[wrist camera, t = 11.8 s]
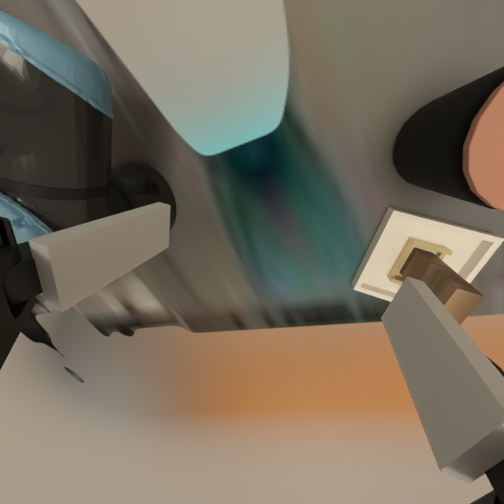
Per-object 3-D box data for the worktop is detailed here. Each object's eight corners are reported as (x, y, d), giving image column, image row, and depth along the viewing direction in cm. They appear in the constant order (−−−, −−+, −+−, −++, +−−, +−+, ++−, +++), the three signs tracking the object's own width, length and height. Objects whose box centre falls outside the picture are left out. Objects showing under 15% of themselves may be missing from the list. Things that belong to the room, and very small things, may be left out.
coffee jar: (478, 182, 30) (665, 213, 14) (387, 190, 33) (453, 223, 17) (500, 87, 26) (797, -25, 10) (395, 106, 29) (489, 46, 13)
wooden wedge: (399, 272, 36) (432, 320, 26) (414, 247, 34) (457, 288, 24) (416, 277, 36) (457, 328, 25) (432, 252, 34) (484, 296, 23)
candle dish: (351, 282, 40) (353, 289, 37) (388, 206, 33) (394, 210, 31) (435, 308, 37) (442, 318, 35) (491, 233, 31) (505, 239, 29)
